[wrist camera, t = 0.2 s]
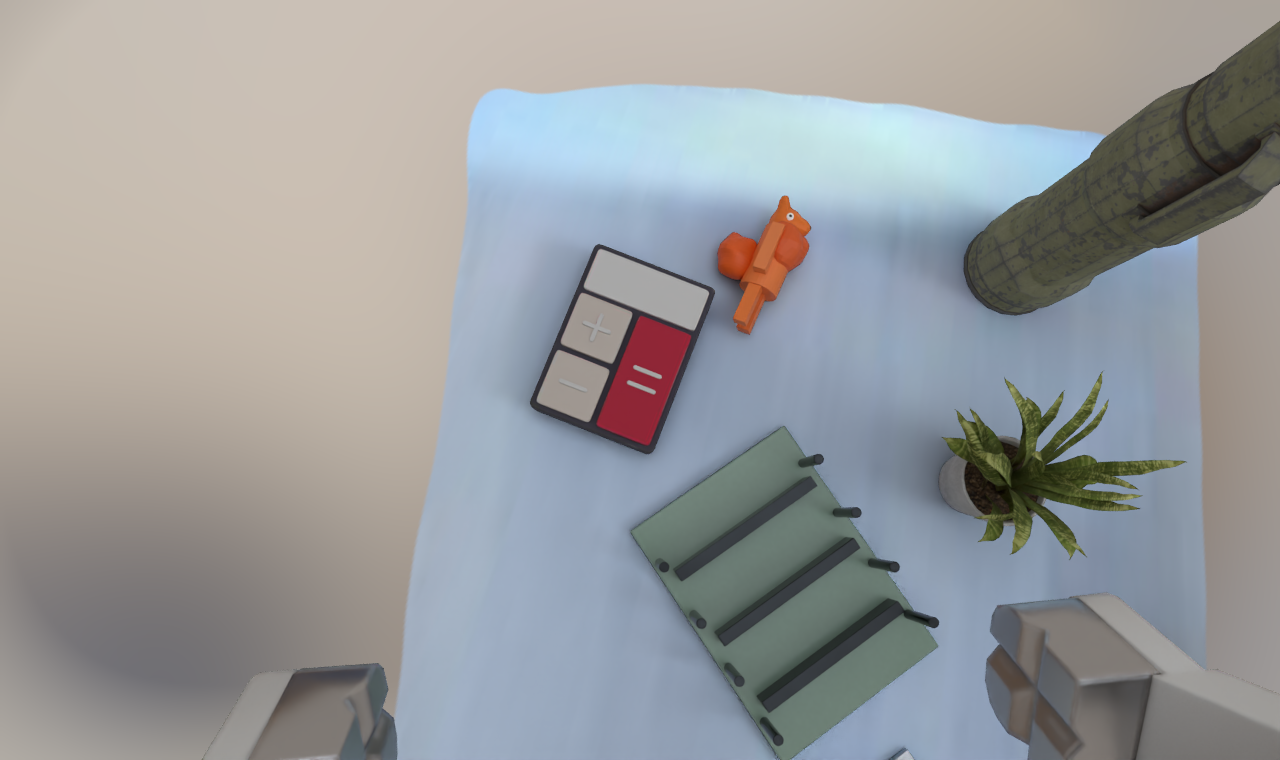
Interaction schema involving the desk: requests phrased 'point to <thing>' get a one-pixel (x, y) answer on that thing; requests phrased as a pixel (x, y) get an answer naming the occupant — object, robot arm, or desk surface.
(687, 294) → the calculator
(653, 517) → the rack
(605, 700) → the desk surface
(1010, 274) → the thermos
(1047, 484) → the house plant
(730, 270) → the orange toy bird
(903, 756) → the knife
